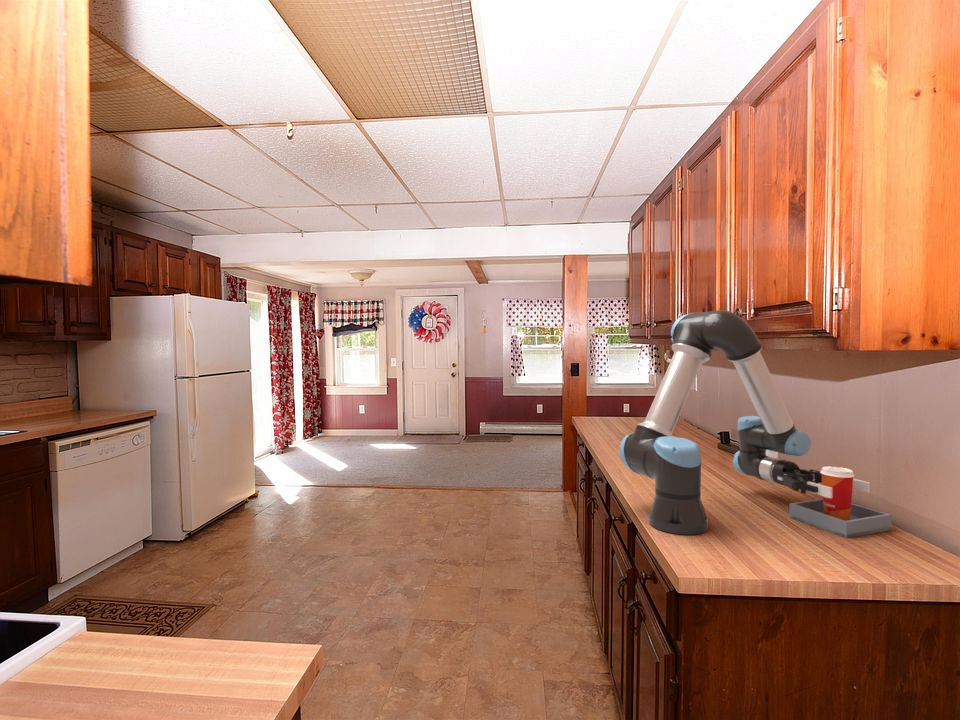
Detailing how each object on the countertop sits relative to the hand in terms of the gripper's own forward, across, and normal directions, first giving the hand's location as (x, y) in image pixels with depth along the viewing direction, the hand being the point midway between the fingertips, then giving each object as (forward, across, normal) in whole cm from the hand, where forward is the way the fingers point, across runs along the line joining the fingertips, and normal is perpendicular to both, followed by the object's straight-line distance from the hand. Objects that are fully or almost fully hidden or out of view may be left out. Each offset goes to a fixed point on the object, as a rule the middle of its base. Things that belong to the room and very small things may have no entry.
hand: (850, 490), depth 130 cm
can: (-45, -21, -10) cm, 51 cm away
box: (-3, 0, -10) cm, 11 cm away
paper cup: (-4, 0, -9) cm, 10 cm away
